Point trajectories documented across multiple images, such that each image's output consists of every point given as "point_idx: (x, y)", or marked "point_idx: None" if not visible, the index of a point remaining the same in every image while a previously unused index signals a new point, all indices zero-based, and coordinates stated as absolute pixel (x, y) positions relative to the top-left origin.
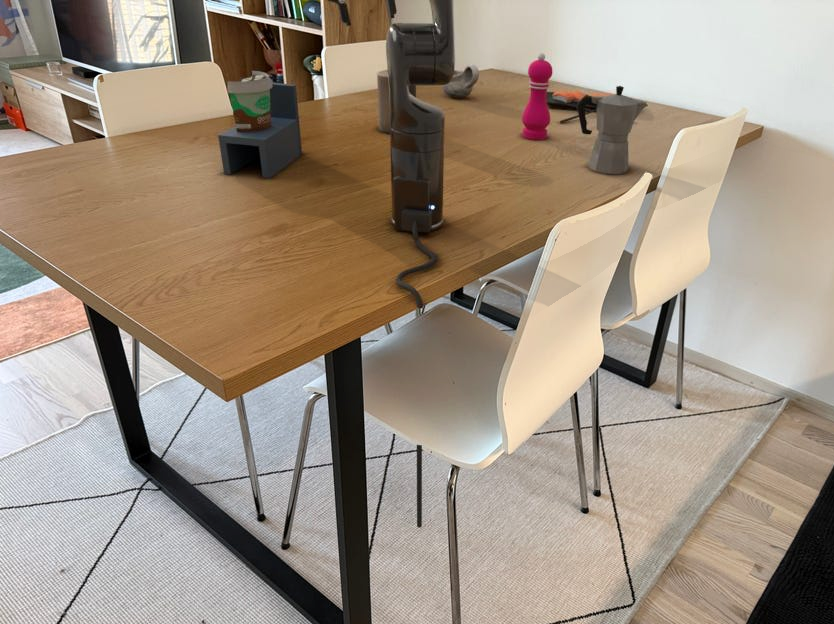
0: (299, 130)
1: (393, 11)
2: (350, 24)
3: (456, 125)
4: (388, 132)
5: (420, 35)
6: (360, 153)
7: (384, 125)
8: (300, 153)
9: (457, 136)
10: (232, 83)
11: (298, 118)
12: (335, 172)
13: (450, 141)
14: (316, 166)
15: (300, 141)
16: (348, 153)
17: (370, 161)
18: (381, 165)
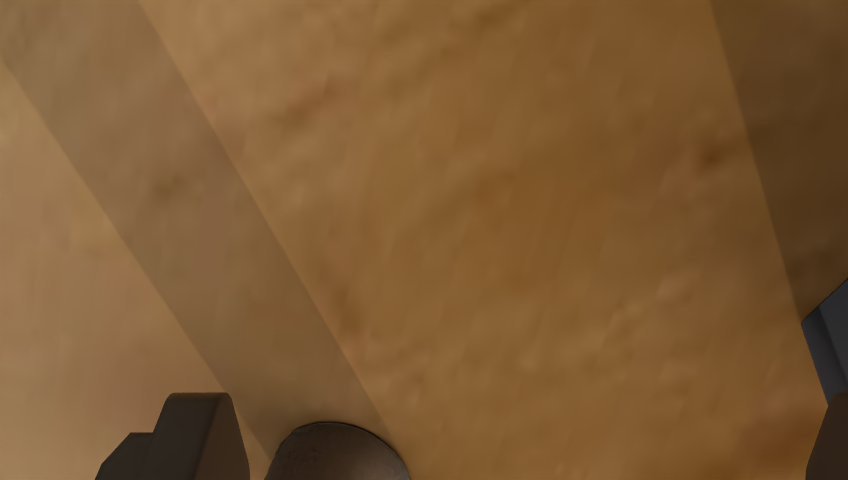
0: (827, 383)
1: (149, 442)
2: (846, 394)
3: None
4: (386, 446)
5: None
6: (557, 268)
7: (393, 474)
8: (814, 314)
9: (142, 353)
10: None
11: None
12: (751, 56)
13: (175, 309)
14: (804, 157)
15: (816, 351)
16: (606, 281)
17: (546, 163)
18: (514, 100)
